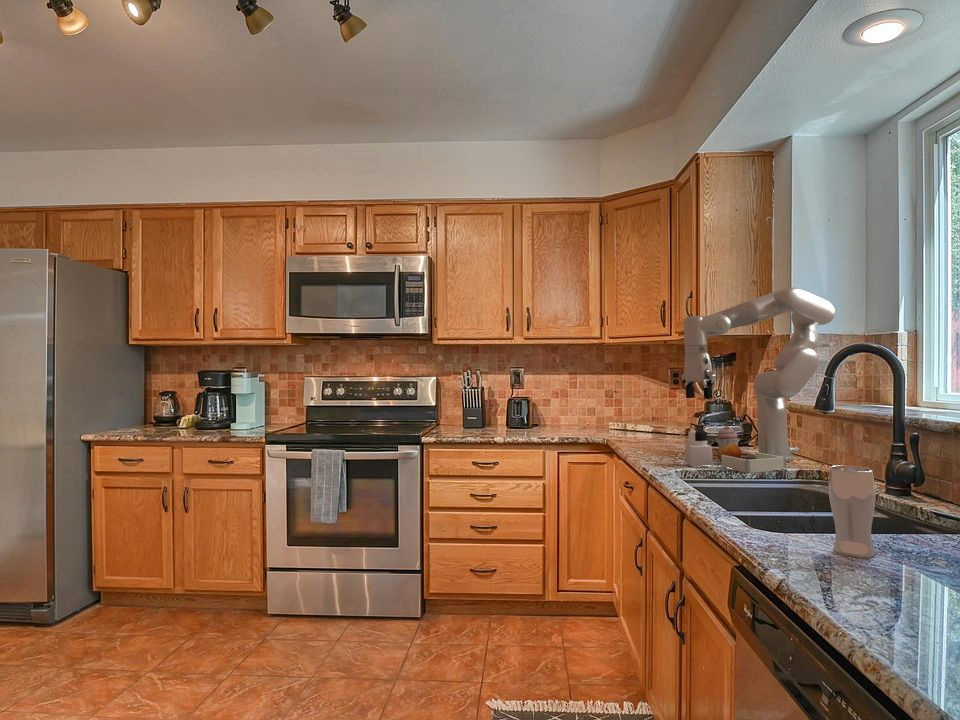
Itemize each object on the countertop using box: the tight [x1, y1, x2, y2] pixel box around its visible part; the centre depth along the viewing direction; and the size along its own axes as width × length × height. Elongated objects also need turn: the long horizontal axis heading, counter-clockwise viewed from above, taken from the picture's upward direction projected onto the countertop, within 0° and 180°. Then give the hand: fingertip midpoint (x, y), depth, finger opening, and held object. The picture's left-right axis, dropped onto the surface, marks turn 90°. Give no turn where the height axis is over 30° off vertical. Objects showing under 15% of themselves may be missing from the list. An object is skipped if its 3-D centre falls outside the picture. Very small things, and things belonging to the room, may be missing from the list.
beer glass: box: [828, 465, 876, 559], centre depth 100 cm, size 7×7×15 cm
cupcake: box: [714, 425, 741, 449], centre depth 225 cm, size 9×9×10 cm
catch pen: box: [721, 452, 788, 474], centre depth 184 cm, size 15×12×4 cm
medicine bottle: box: [684, 429, 713, 467], centre depth 192 cm, size 7×7×12 cm
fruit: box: [716, 444, 743, 463], centre depth 195 cm, size 8×8×8 cm
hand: (699, 398), depth 200 cm, fingers open, 9 cm apart
